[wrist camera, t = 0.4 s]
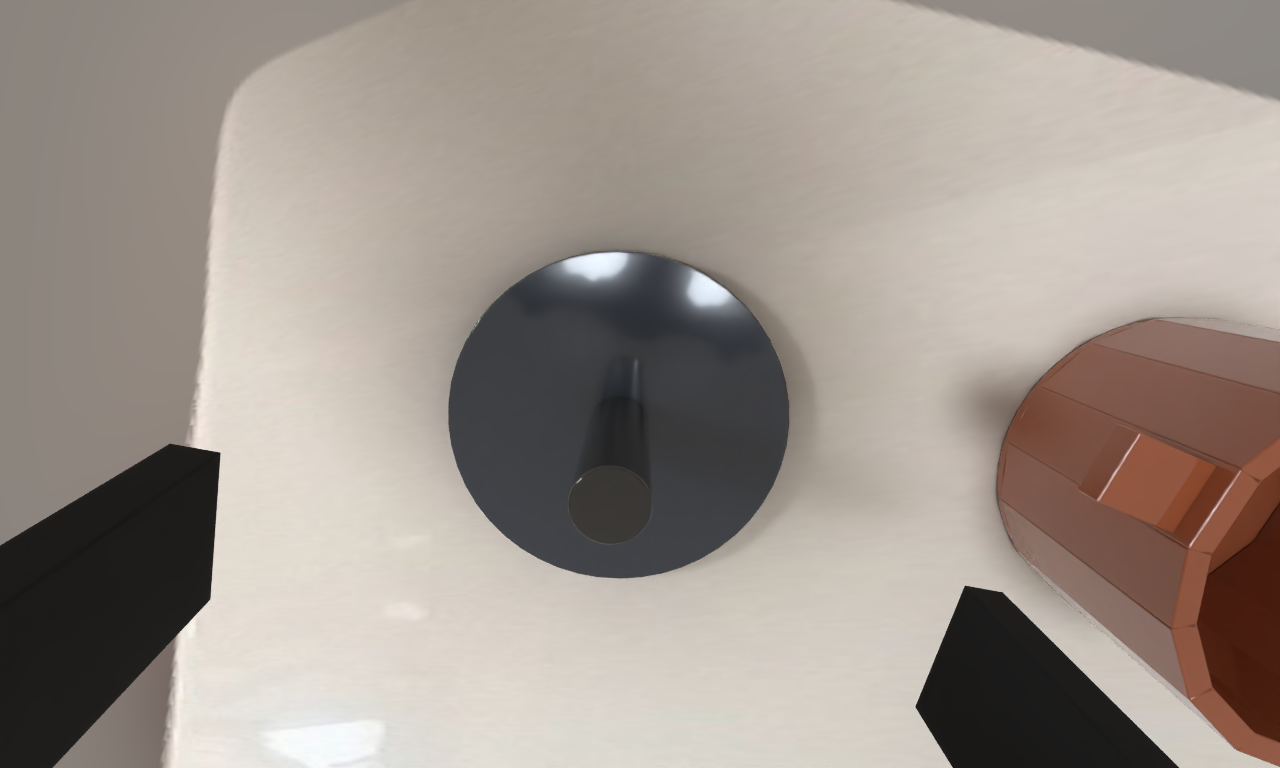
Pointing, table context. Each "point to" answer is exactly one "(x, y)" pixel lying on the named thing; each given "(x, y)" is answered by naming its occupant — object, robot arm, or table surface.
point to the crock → (1164, 508)
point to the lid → (618, 414)
